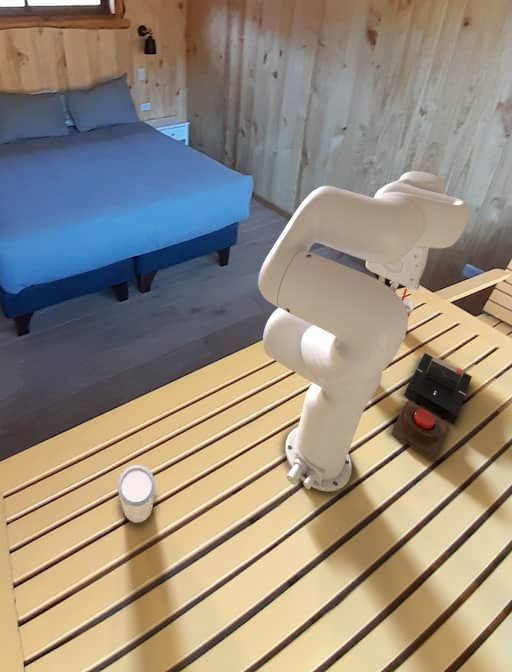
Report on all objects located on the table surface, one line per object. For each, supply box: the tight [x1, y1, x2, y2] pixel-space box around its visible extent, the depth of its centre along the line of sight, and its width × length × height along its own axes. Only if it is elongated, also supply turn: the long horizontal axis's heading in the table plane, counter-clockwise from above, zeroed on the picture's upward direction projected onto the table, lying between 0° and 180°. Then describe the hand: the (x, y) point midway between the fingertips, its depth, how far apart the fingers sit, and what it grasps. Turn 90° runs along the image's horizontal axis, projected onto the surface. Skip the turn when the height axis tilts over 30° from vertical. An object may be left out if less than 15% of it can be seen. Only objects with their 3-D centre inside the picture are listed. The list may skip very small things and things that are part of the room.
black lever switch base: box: [403, 352, 473, 425], centre depth 95 cm, size 14×10×3 cm
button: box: [413, 409, 435, 430], centre depth 85 cm, size 4×4×2 cm
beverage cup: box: [398, 288, 415, 318], centre depth 110 cm, size 6×6×14 cm
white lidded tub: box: [117, 464, 156, 523], centre depth 74 cm, size 7×7×7 cm
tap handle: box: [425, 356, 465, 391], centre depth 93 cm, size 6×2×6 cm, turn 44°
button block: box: [390, 398, 449, 462], centre depth 86 cm, size 10×8×4 cm
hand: (384, 298), depth 91 cm, fingers closed
